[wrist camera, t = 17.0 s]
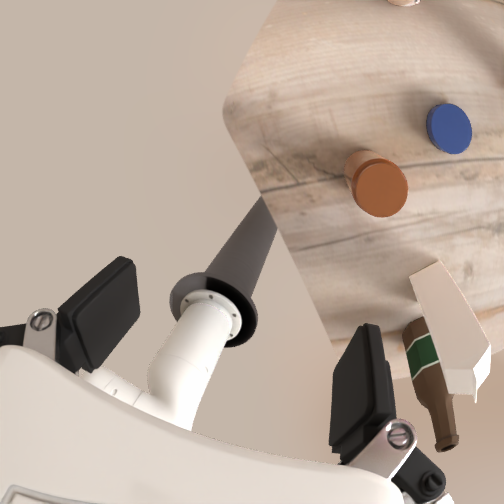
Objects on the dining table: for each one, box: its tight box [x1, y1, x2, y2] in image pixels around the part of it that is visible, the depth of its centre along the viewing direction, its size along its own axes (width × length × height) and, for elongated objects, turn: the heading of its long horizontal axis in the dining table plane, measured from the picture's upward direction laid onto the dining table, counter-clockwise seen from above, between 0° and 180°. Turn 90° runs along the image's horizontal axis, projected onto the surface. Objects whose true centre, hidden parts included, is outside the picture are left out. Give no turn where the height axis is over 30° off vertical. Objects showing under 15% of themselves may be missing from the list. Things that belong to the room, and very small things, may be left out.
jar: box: [344, 150, 408, 217], centre depth 28 cm, size 6×6×10 cm
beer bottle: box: [402, 316, 459, 452], centre depth 30 cm, size 8×8×24 cm
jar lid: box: [427, 104, 472, 154], centre depth 25 cm, size 7×7×2 cm
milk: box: [409, 260, 491, 403], centre depth 27 cm, size 6×6×22 cm
